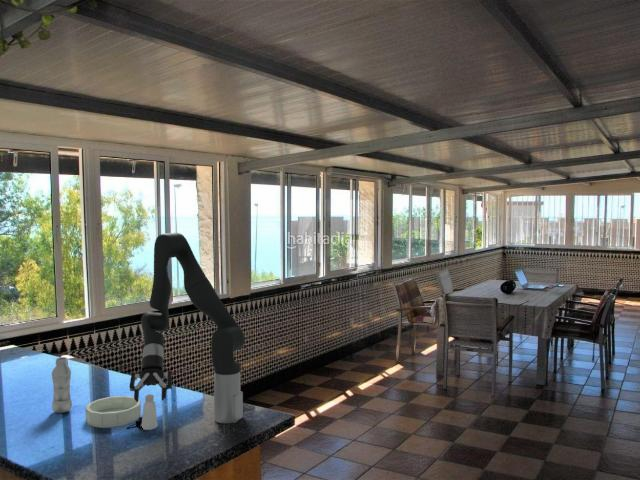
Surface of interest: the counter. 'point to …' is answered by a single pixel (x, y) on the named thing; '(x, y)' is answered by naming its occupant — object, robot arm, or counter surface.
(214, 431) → the counter surface
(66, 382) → the plastic bottle
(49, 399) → the counter surface
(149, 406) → the salt shaker
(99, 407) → the bowl
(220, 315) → the robot arm
